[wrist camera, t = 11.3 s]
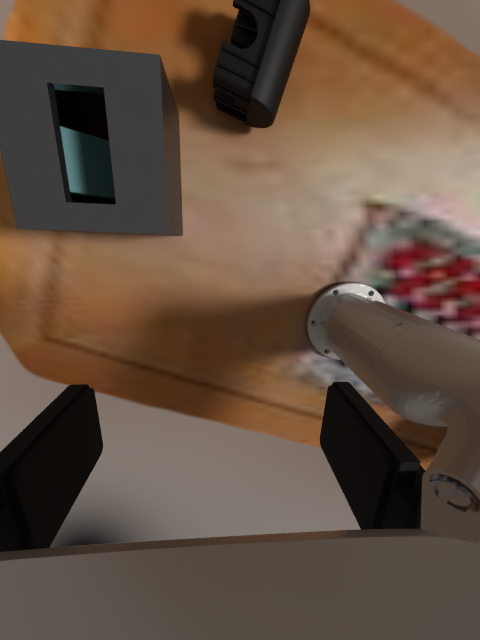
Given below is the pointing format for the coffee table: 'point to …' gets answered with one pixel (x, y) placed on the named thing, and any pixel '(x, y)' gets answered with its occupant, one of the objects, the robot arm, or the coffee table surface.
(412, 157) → the coffee table surface
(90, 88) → the box
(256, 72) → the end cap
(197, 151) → the coffee table surface
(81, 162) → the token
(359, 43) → the coffee table surface
